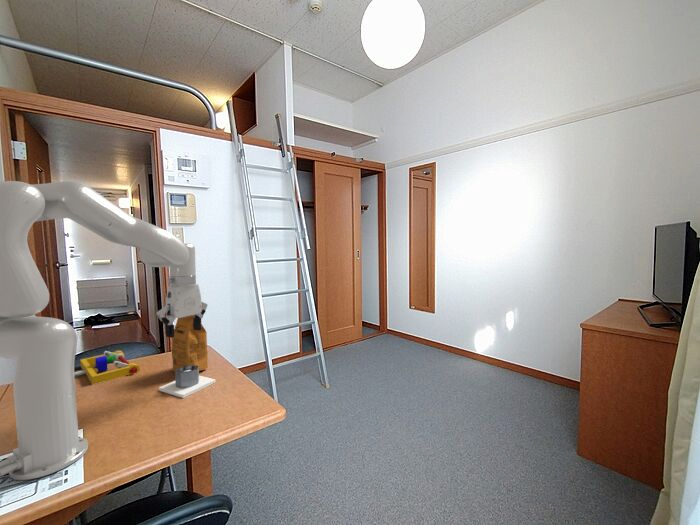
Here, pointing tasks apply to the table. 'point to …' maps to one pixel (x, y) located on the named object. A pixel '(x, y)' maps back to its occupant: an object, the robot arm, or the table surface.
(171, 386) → the stand
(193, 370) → the ring
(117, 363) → the yellow toy tray
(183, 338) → the coffee package
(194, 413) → the table surface
